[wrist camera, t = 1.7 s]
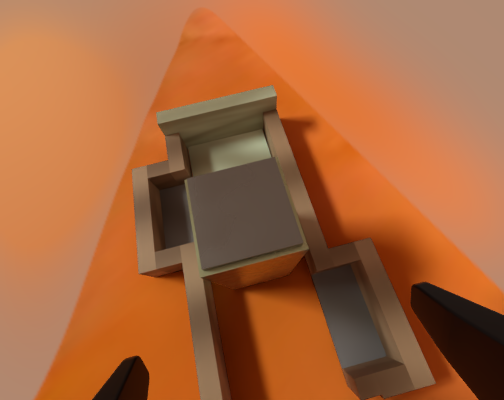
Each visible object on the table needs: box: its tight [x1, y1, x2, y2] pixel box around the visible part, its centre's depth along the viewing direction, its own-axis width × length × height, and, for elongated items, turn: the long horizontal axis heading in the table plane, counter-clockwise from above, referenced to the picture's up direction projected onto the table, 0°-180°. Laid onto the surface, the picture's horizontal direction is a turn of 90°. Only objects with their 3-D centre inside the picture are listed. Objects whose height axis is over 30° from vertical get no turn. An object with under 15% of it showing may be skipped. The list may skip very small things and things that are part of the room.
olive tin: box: [184, 157, 309, 290], centre depth 14 cm, size 4×4×10 cm
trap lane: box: [132, 85, 436, 400], centre depth 18 cm, size 22×16×4 cm
